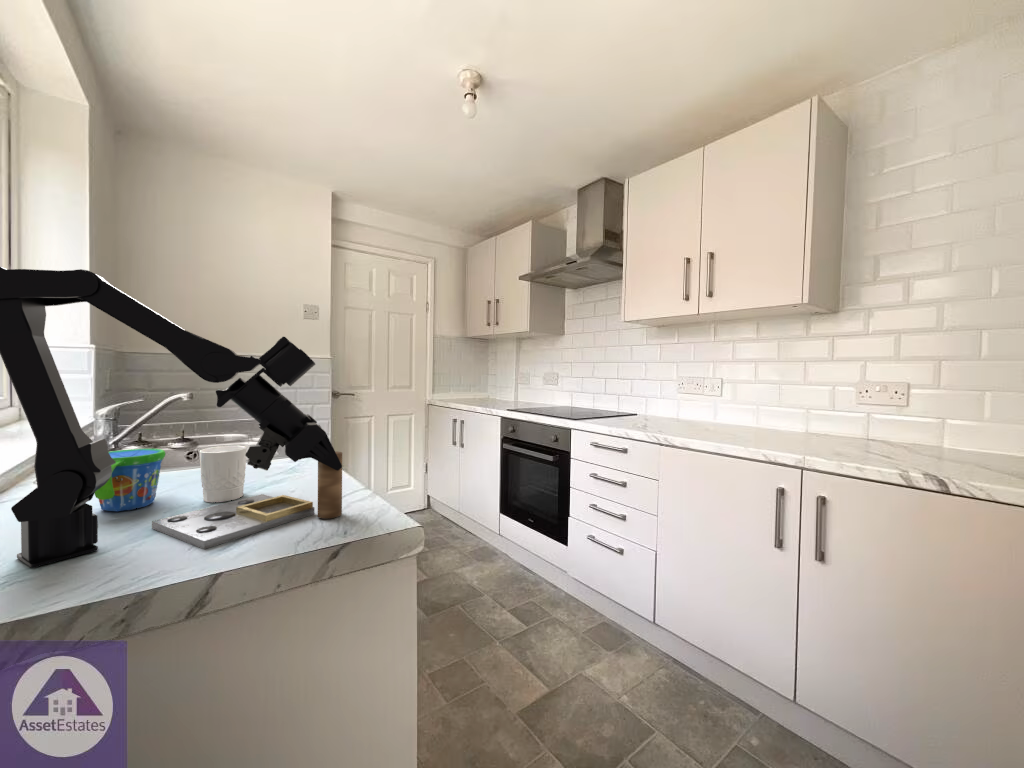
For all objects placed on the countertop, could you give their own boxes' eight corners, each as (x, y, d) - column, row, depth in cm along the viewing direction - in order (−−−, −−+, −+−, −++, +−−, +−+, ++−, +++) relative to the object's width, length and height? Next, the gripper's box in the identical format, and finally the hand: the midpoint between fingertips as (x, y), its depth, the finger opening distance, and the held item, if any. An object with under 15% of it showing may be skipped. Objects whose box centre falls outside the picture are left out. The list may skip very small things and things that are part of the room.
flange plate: (204, 549, 61) (204, 534, 61) (151, 528, 69) (151, 515, 69) (314, 513, 77) (314, 501, 77) (262, 500, 85) (262, 489, 85)
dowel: (318, 519, 73) (319, 456, 73) (316, 512, 77) (316, 452, 76) (343, 516, 75) (343, 454, 75) (340, 509, 79) (340, 450, 78)
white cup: (255, 493, 90) (255, 446, 89) (226, 504, 82) (226, 453, 81) (220, 491, 90) (220, 445, 90) (189, 502, 83) (189, 451, 82)
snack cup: (124, 495, 86) (124, 446, 86) (183, 493, 89) (183, 445, 88) (60, 522, 71) (59, 462, 71) (133, 519, 73) (132, 460, 73)
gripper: (231, 434, 76) (300, 488, 82) (220, 452, 60) (307, 518, 66) (282, 390, 80) (343, 445, 86) (284, 396, 64) (360, 463, 69)
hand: (338, 466), depth 76 cm, fingers closed on dowel, 4 cm apart
